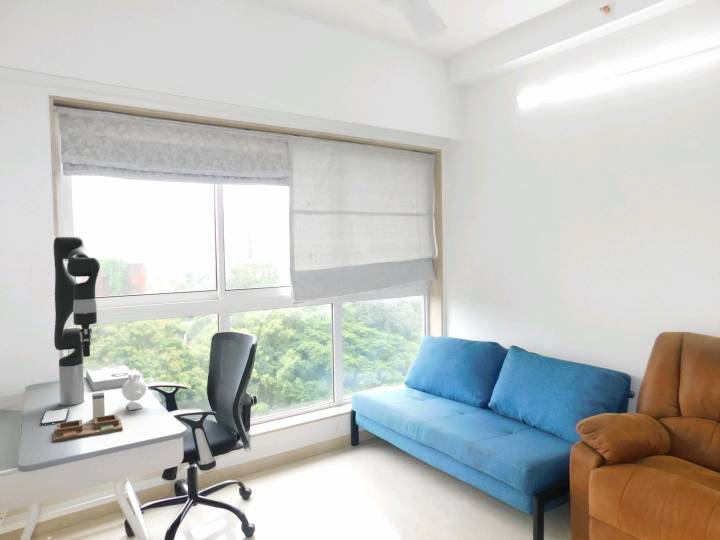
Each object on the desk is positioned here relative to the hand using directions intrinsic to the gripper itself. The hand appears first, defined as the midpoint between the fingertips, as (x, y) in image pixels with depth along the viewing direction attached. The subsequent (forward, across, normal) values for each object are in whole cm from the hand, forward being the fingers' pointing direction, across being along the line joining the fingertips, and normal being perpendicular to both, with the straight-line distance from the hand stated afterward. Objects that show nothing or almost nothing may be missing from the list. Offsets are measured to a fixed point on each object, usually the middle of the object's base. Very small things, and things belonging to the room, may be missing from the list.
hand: (86, 354), depth 182 cm
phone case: (+29, -24, -11) cm, 39 cm away
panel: (+29, 0, 0) cm, 29 cm away
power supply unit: (+28, -78, +11) cm, 83 cm away
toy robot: (+28, -22, +18) cm, 40 cm away
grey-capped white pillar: (+28, -13, +4) cm, 32 cm away
